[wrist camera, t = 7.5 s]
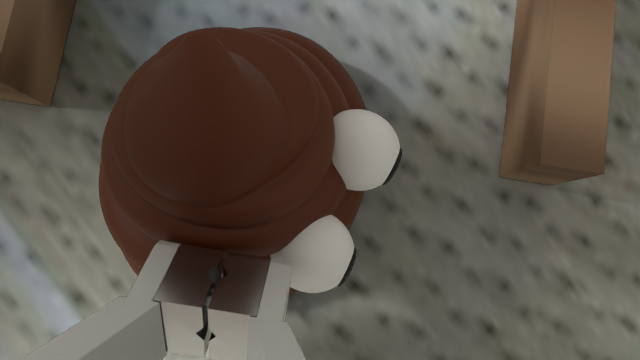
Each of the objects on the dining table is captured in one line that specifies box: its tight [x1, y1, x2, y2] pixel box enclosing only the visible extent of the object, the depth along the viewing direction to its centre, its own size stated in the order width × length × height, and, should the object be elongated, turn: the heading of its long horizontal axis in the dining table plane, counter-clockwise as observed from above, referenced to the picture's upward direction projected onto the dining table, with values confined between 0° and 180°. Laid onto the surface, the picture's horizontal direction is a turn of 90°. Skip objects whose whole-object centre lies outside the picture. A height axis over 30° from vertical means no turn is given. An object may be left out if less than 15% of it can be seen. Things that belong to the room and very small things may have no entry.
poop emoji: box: [99, 27, 402, 295], centre depth 12 cm, size 10×8×9 cm
